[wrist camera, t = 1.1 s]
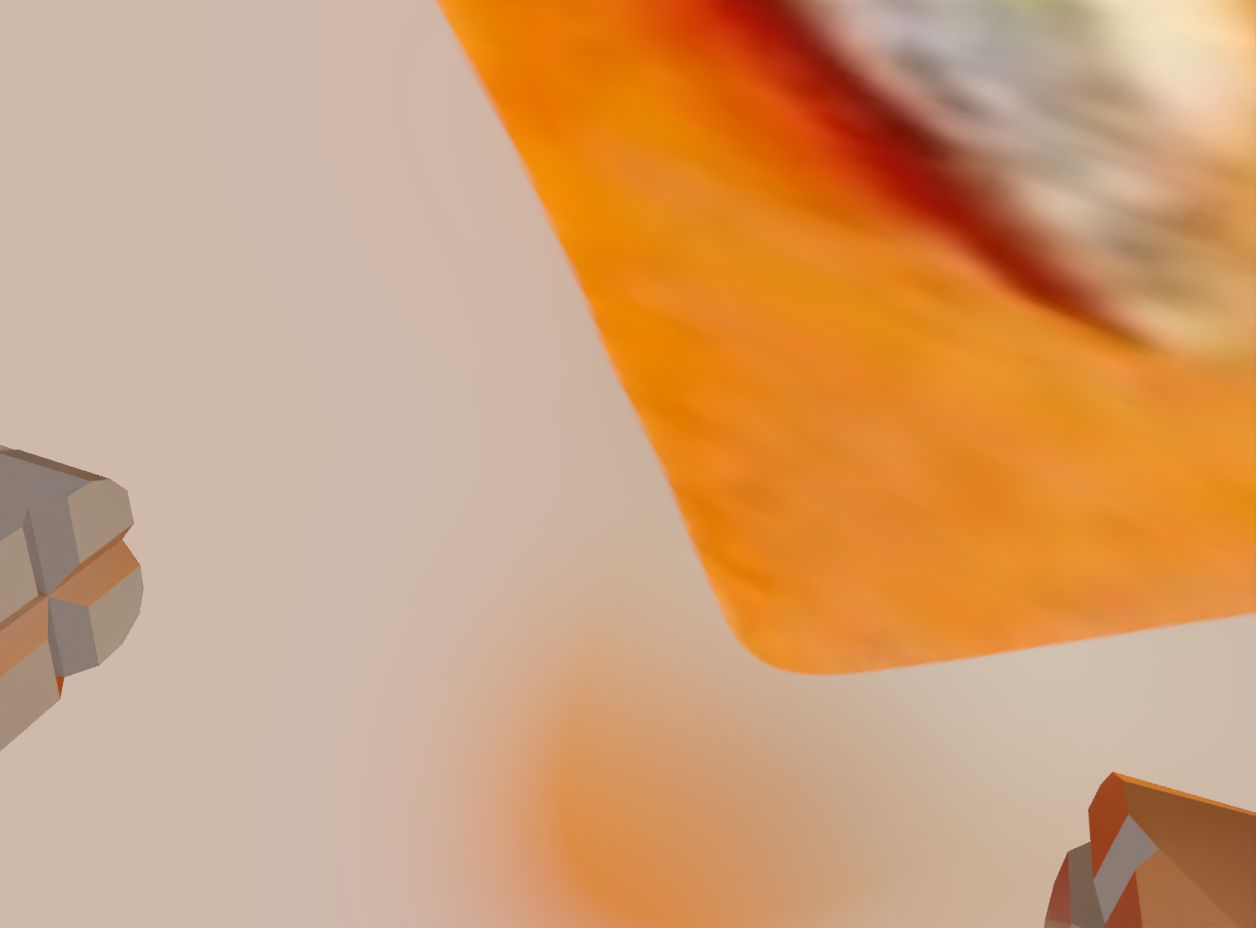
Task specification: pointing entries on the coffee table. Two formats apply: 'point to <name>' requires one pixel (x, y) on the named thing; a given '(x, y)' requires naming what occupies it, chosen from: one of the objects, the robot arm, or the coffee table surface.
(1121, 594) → the coffee table surface
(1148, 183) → the coffee table surface
